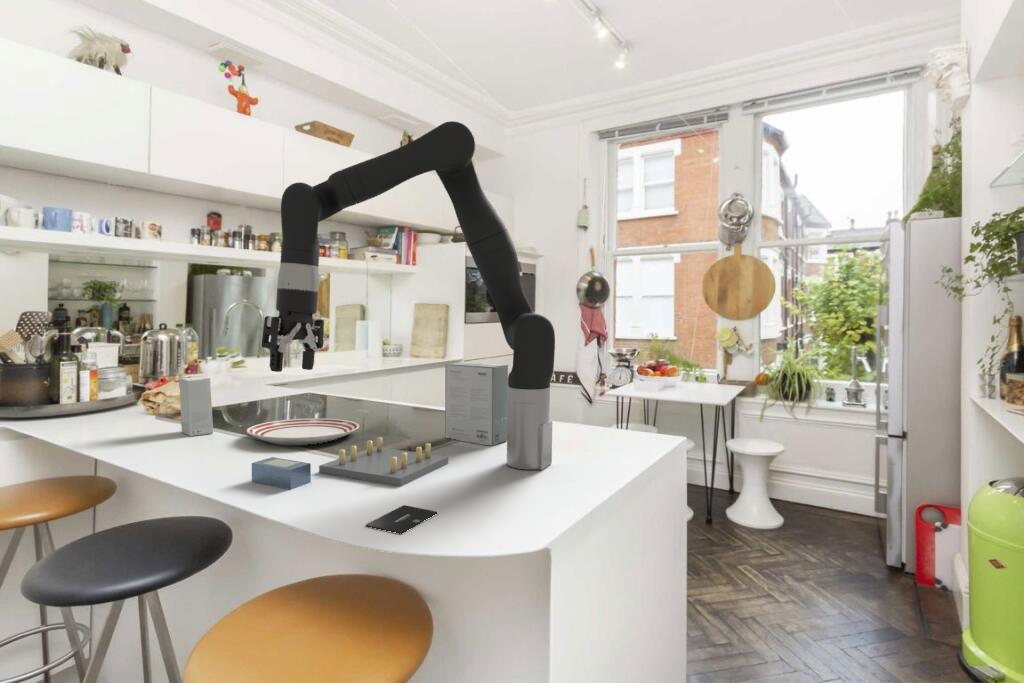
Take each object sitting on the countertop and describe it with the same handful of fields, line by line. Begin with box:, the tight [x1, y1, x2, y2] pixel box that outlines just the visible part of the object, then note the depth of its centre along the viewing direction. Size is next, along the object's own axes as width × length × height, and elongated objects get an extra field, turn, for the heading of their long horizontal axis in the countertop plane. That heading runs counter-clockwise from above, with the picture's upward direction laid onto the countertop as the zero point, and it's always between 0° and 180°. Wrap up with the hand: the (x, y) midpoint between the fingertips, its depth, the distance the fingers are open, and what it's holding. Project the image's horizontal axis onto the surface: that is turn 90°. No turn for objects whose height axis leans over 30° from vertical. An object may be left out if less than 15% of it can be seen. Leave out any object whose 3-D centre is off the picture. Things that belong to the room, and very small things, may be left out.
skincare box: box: [178, 376, 214, 437], centre depth 148 cm, size 8×6×15 cm
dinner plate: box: [246, 418, 360, 446], centre depth 145 cm, size 27×27×3 cm
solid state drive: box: [365, 505, 438, 535], centre depth 89 cm, size 7×10×1 cm
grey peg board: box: [318, 437, 449, 487], centre depth 118 cm, size 20×18×4 cm
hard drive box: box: [444, 362, 509, 447], centre depth 145 cm, size 16×8×20 cm, turn 58°
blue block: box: [251, 456, 312, 491], centre depth 107 cm, size 10×5×4 cm, turn 66°
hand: (292, 370), depth 109 cm, fingers open, 8 cm apart
